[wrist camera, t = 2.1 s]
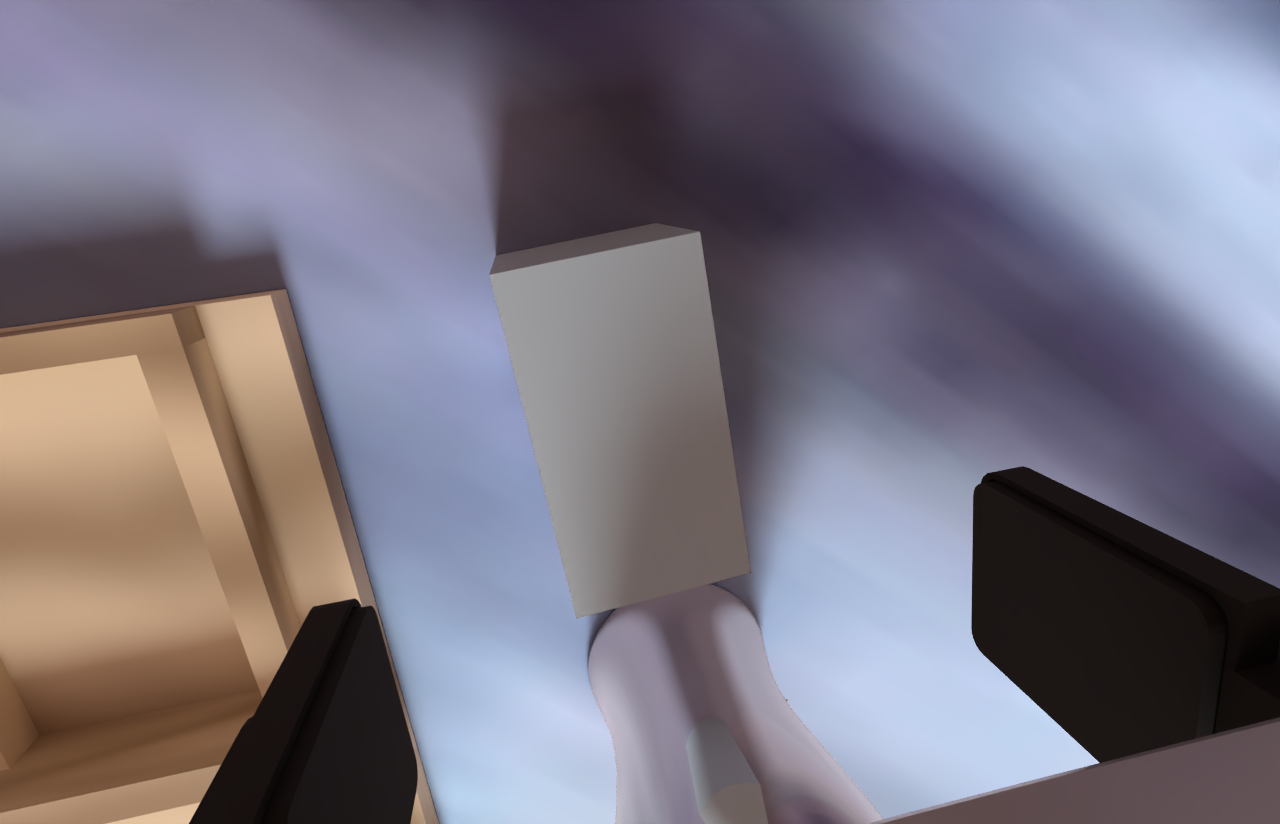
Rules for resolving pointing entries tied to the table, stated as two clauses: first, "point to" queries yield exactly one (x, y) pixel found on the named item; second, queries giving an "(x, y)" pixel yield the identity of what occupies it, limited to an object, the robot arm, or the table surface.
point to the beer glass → (709, 721)
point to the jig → (157, 551)
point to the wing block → (625, 411)
